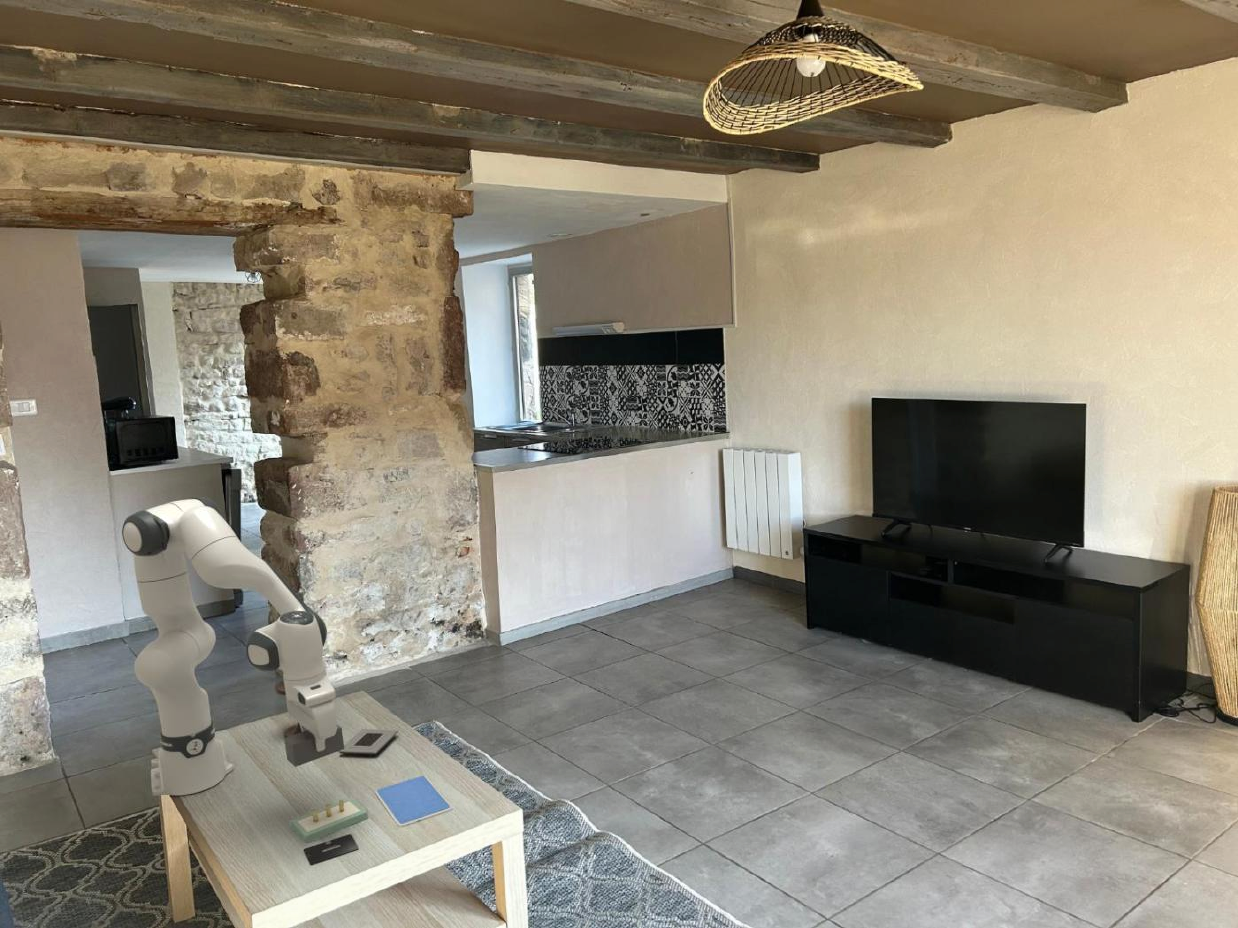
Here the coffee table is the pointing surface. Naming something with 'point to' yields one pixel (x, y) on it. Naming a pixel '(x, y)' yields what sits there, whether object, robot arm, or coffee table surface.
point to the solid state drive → (330, 849)
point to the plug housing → (311, 747)
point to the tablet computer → (413, 801)
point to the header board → (328, 819)
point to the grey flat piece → (368, 741)
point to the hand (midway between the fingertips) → (314, 745)
